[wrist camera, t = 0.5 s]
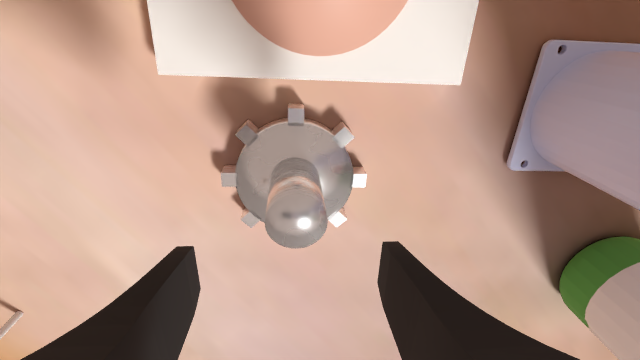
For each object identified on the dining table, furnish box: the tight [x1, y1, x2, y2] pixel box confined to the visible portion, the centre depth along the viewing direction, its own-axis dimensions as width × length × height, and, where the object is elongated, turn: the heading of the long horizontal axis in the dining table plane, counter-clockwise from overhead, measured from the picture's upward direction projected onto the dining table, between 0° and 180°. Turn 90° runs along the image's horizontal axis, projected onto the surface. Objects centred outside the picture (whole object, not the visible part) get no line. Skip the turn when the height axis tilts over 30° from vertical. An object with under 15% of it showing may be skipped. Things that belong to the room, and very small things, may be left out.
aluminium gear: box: [221, 104, 367, 248], centre depth 19 cm, size 9×9×6 cm
